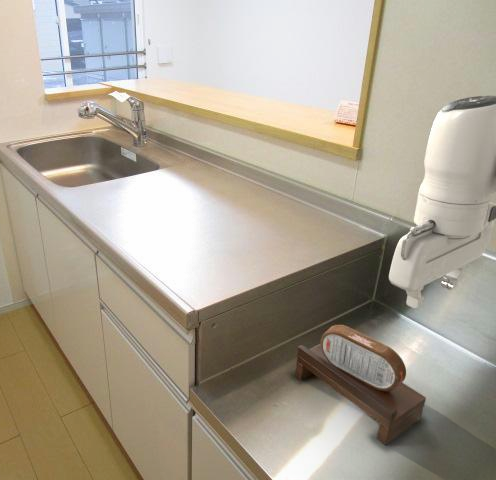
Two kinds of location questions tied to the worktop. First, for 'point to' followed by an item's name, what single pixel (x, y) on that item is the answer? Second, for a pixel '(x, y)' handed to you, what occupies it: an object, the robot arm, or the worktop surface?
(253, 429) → the worktop surface
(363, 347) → the tin
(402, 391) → the shelf
